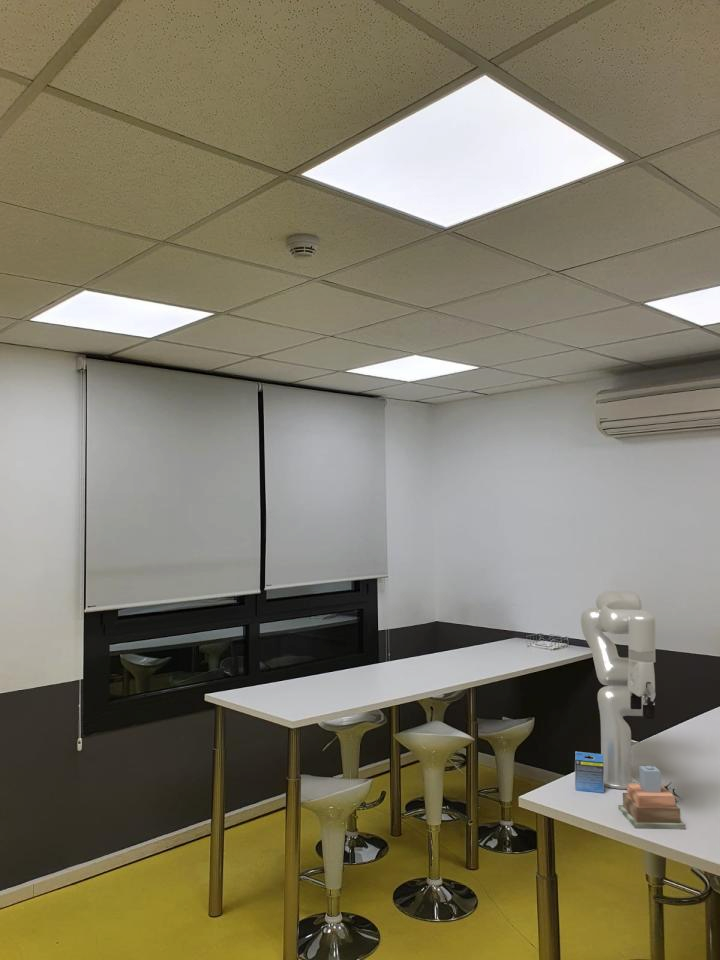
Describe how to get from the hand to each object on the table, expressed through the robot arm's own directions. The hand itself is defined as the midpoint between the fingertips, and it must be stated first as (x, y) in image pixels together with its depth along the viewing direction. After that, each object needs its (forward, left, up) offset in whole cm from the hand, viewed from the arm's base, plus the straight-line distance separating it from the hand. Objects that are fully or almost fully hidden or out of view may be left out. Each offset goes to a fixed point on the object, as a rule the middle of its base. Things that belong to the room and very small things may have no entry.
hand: (642, 713), depth 217 cm
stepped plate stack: (+3, +1, -29) cm, 29 cm away
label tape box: (-20, -10, -29) cm, 37 cm away
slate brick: (+3, +1, -21) cm, 21 cm away
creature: (-12, +12, -30) cm, 34 cm away
